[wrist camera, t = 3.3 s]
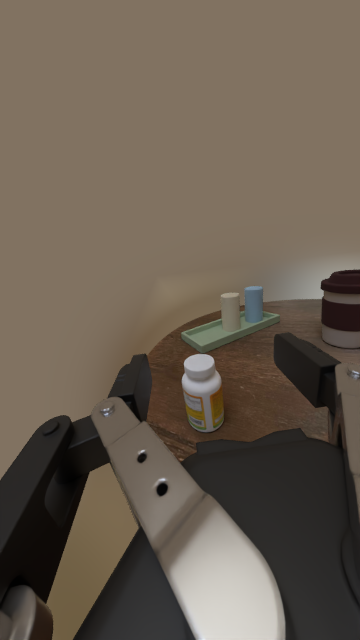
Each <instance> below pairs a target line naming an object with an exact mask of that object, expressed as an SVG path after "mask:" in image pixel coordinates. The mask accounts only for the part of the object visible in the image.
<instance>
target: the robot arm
mask: <svg viewBox="0 0 360 640" xmlns="http://www.w3.org/2000/svg"><path fill="white" fill-rule="evenodd" d="M274 361H275V364H276V366H277V367H278V368H279V369H280V370H281V371H282V372H283V374H284V375H285V376H286V377H287V378H288V379H289V380H290V381H291V382H292V383H293V384H294V385H295V386H296V388H297V389H298V390H299V391H300V392H301V393H302V394H303V395H304V396H305V397H306V398H307V399H308V400H309V401H310V403H311V404H312V405H313V406H314V407H315V408H318V407H325V406H327V407H328V408H329V410H328V439H329V443H328V442H325V441H322V440H318V439H314V438H308V437H306V435H305V434H304V432H303V431H302V430H301V428H297V429H290V430H283V431H276V432H273V433H271V434H268V435H266V436H264V437H262V438H259V439H257V440H255V441H253V442H243V441H233V440H223V439H220V440H213V441H206V442H199V443H196V447H197V452H196V453H194V454H192V455H190V456H189V457H187V458H186V459H185V460H183V461H182V462H181V463H179V461H178V460H177V459H176V458H175V457H174V455H173V454H172V453H171V452H170V450H169V449H168V448H167V447H166V446H165V444H164V443H163V442H162V441H161V440H160V438H159V437H158V436H157V435H156V434H155V432H154V431H153V430H152V429H151V427H150V426H149V425H148V424H147V423H146V419H147V412H148V406H149V400H150V394H151V387H152V376H151V371H150V367H149V363H148V359H147V355H146V354H140V355H134V356H133V358H132V360H131V362H130V364H126V365H125V366H124V367H123V368H122V369H121V370H120V371H119V373H118V376H117V378H116V380H115V382H114V384H113V387H112V389H111V391H110V393H109V395H108V398H107V399H105V400H103V401H101V402H100V403H99V404H97V405H96V406H95V407H94V409H93V410H92V412H91V415H90V416H87V417H85V418H82V419H80V420H77V421H75V422H71V419H70V418H69V417H68V416H66V415H63V416H58V417H54V418H53V419H50V420H48V421H47V422H45V423H44V424H43V425H41V426H40V427H39V428H38V429H37V430H36V431H35V433H34V434H33V435H32V437H31V438H30V439H29V441H28V442H27V444H26V445H25V446H24V448H23V449H22V451H21V452H20V454H19V455H18V456H17V458H16V459H15V460H14V462H13V463H12V465H11V466H10V467H9V469H8V470H7V472H6V473H5V474H4V476H3V477H2V479H1V480H0V640H52V634H53V618H52V613H51V610H50V609H49V607H48V606H47V605H46V603H47V600H48V597H49V594H50V591H51V588H52V585H53V582H54V578H55V575H56V572H57V569H58V566H59V563H60V560H61V557H62V554H63V551H64V548H65V545H66V542H67V539H68V535H69V532H70V530H71V526H72V523H73V521H74V518H75V515H76V511H77V509H78V506H79V502H80V500H81V496H82V493H83V490H84V487H85V484H86V481H87V478H88V475H89V472H90V471H92V470H94V469H96V468H98V467H101V466H102V465H105V464H107V463H110V465H111V467H112V469H113V471H114V474H115V476H116V478H117V481H118V482H119V485H120V487H121V489H122V492H123V494H124V496H125V498H126V500H127V503H128V505H129V508H130V510H131V512H132V515H133V517H134V519H135V522H136V524H137V526H138V528H139V529H138V531H137V532H136V534H135V536H134V537H133V539H132V541H131V542H130V544H129V546H128V548H127V549H126V551H125V553H124V554H123V556H122V558H121V559H120V561H119V563H118V564H117V566H116V568H115V570H114V571H113V573H112V574H111V576H110V578H109V580H108V581H107V583H106V585H105V586H104V588H103V590H102V591H101V593H100V595H99V596H98V598H97V600H96V601H95V603H94V605H93V606H92V608H91V610H90V611H89V613H88V615H87V616H86V618H85V620H84V622H83V623H82V625H81V627H80V628H79V630H78V632H77V633H76V635H75V637H74V639H73V640H360V365H358V364H353V363H341V362H339V361H338V360H336V359H335V358H333V357H332V356H330V355H329V354H327V353H325V352H323V351H322V350H321V349H319V348H317V347H316V346H315V345H313V344H311V343H310V342H307V341H305V340H302V339H299V338H297V337H296V336H294V335H293V334H291V333H289V332H288V333H281V334H276V335H275V337H274Z"/></svg>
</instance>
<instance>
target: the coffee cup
mask: <svg viewBox="0 0 360 640" xmlns="http://www.w3.org/2000/svg"><path fill="white" fill-rule="evenodd" d="M321 289H322V290H324V296H323V298H322V319H321V321H322V339H323V340H324V341H325V342H326V343H328V344H330V345H333V346H336V347H341V348H360V270H345V271H338V272H334V273H332V274H331V276H330V278H328V279H325V280H323V281H322V282H321Z"/></svg>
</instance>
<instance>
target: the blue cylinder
mask: <svg viewBox="0 0 360 640" xmlns="http://www.w3.org/2000/svg"><path fill="white" fill-rule="evenodd" d="M262 320H263V287H260V286H252V287H247V288H245V321H246V322H249V323H257V322H260V321H262Z"/></svg>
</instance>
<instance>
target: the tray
mask: <svg viewBox="0 0 360 640" xmlns="http://www.w3.org/2000/svg"><path fill="white" fill-rule="evenodd" d="M278 322H280V315H277V314H273V313H269V312H265V311H263V320H262V321H260V322H257V323H249V322H246V321H245V311H242V312H240V330H237V331H235V332H226V331H224V330H223V326H222V319H219V320H216V321H213V322H211V323H208V324H205V325H202V326H199V327H196V328H193V329H190V330H187V331H185V332H182V333H181V336H182V340H184V341H185V342H187V343H188V344H189V345H191V346H192V347H194V348H195V349H196V350H198V351H199V352H201V353H202V354H203V353H206V352H208V351H210V350H213V349H215V348H218V347H220V346H222V345H225V344H227V343H230V342H232V341H234V340H237V339H239V338H242V337H244V336H246V335H249V334H251V333H254V332H256V331H258V330H261V329H263V328H266V327H268V326H270V325H273V324H275V323H278Z"/></svg>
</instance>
